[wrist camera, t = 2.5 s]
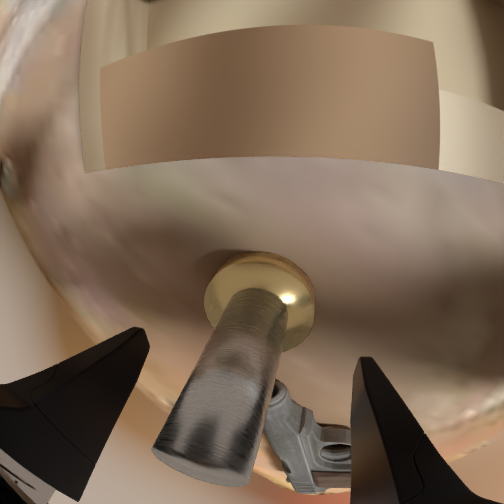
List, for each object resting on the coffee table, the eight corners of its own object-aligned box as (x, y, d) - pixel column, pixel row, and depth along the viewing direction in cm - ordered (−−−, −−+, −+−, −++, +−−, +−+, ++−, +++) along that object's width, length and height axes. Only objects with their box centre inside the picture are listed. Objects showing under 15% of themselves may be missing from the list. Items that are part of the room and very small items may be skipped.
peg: (319, 254, 10) (304, 455, 3) (310, 342, 12) (286, 503, 5) (206, 248, 11) (84, 393, 4) (218, 332, 13) (149, 468, 6)
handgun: (477, 381, 8) (237, 411, 12) (417, 484, 13) (288, 495, 17) (459, 340, 11) (252, 368, 15) (415, 457, 16) (294, 469, 20)
